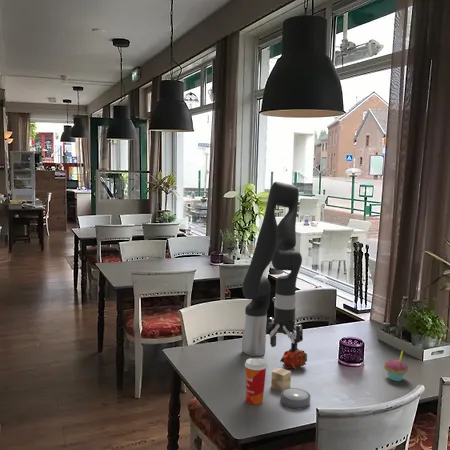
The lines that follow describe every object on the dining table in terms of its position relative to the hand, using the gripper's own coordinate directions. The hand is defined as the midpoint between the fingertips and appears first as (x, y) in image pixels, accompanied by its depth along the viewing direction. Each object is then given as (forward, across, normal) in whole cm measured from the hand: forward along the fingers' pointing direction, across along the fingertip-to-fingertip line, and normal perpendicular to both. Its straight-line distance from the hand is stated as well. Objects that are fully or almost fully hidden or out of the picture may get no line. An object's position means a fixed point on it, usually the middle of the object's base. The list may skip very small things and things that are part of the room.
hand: (283, 349), depth 178 cm
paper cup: (+14, +1, +16) cm, 21 cm away
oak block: (+14, 0, 0) cm, 14 cm away
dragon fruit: (+14, +6, -18) cm, 24 cm away
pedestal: (+14, -10, +6) cm, 18 cm away
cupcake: (+15, -28, -37) cm, 48 cm away
